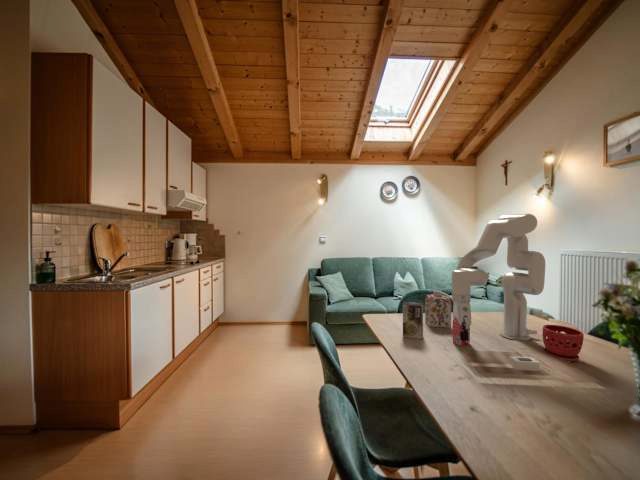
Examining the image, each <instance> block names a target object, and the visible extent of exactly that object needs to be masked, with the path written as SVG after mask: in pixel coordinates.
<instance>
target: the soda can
mask: <svg viewBox="0 0 640 480" xmlns="http://www.w3.org/2000/svg"><path fill="white" fill-rule="evenodd" d="M462 324H465V323H464V322H463V323H462ZM464 327H465V326H463V328H464ZM460 331H461V325H460V324H459V323H458V320H457V318H455V317H454V319H453V318H452V343H453V344H454V345H458V346H462V347H463V346H469V345H470V343H471V342H470V341H471V325H470V326H469V340H468V341H461V339H460Z"/></svg>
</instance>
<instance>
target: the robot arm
mask: <svg viewBox="0 0 640 480" xmlns="http://www.w3.org/2000/svg"><path fill="white" fill-rule="evenodd" d="M537 226H538V219H537V217H536V216H535V215H534V214H532V213H517V214H503V215H500V217H498V219H494V220H491V221H489V222H487V224H486V225H485V228H484V230H483V232H482V234H481V236H480V238H479V240H478V242H477V245H476V246H475V247H474V248H472V249H471V250H470V251H468V252H466V254H464V256H463V257H461V259H460V261H459V262H458V265H457V267H456V269H454V270H453V271H451V302H453V305H452V320H453V319H454V317H455V318H457V320H458V323H459V324H460V325H461V331H460V339H461V341H468V340H469V326H470V327H471V325H472V310H471V287H474V286H475V287H482V286H484V285H486V284H487V283H488V282H489V275H488V273H487V272H486V271H485V270H483V269H479V268H472V267H473V266H474V265H475V264H477V263H478V262H480V261H482V260H485V259H488V258H491V257H492V256H495V255H496V254H497V252H498V250H499V247H500V245H501V243H502V240H503V239H507V252H506V264H507V267H508V268H509V269H513V270H516V271H525V272H528V273H525V272H515V271H510V272H506V273H504V274H503V276H502V279H501V285H502V290H503V326H502V327H503V330H500V331H499V336H501V337H503V338H505V339H509V340H514V341H529V340H530V339H531V336H530V335H537V334H538V331H537V330H536V329H531V328H527V315H528V314H527V311H528V310H527V307H528V302H527V298H526V296H525V294H526V295H532V296H539V295H541V294H542V293H543V291H544V287H545V281H546V280H545V279H546V259H545V256H544V255H543V254H542V253H541V252H539V251H536V250H535V251H534V250H529V239H528V236H527V234H529V233H532V232H534V230H536V229H537ZM463 322H464V323H465V324H462V323H463ZM463 326H465V327H464V328H463Z"/></svg>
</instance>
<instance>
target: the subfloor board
mask: <svg viewBox="0 0 640 480" xmlns="http://www.w3.org/2000/svg"><path fill="white" fill-rule="evenodd" d="M457 351H458V352H459V354H461V356H462V357H463V358H464V359H466V361H467V362H468V363H469V364H470V365H471V366H472V367H473V368H474V369H475V371H477V372H478V373H486V374H488V373H490V374H491V373H492V374H511V375H512V374H514V375H532V376H533V375H537V376H551V374H550V373H549V372H547V371H546V370H544V369H542V368H541V367H540V371H530V370H515V369H514V368H513V367H512V366H511V365H509V356H518V357H525V356H524V355H522V354H521V353H519V352H516V351H493V350H492V351H491V350H490V351H489V350H469V349H467V350H465V349H463V350H462V349H457Z"/></svg>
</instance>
